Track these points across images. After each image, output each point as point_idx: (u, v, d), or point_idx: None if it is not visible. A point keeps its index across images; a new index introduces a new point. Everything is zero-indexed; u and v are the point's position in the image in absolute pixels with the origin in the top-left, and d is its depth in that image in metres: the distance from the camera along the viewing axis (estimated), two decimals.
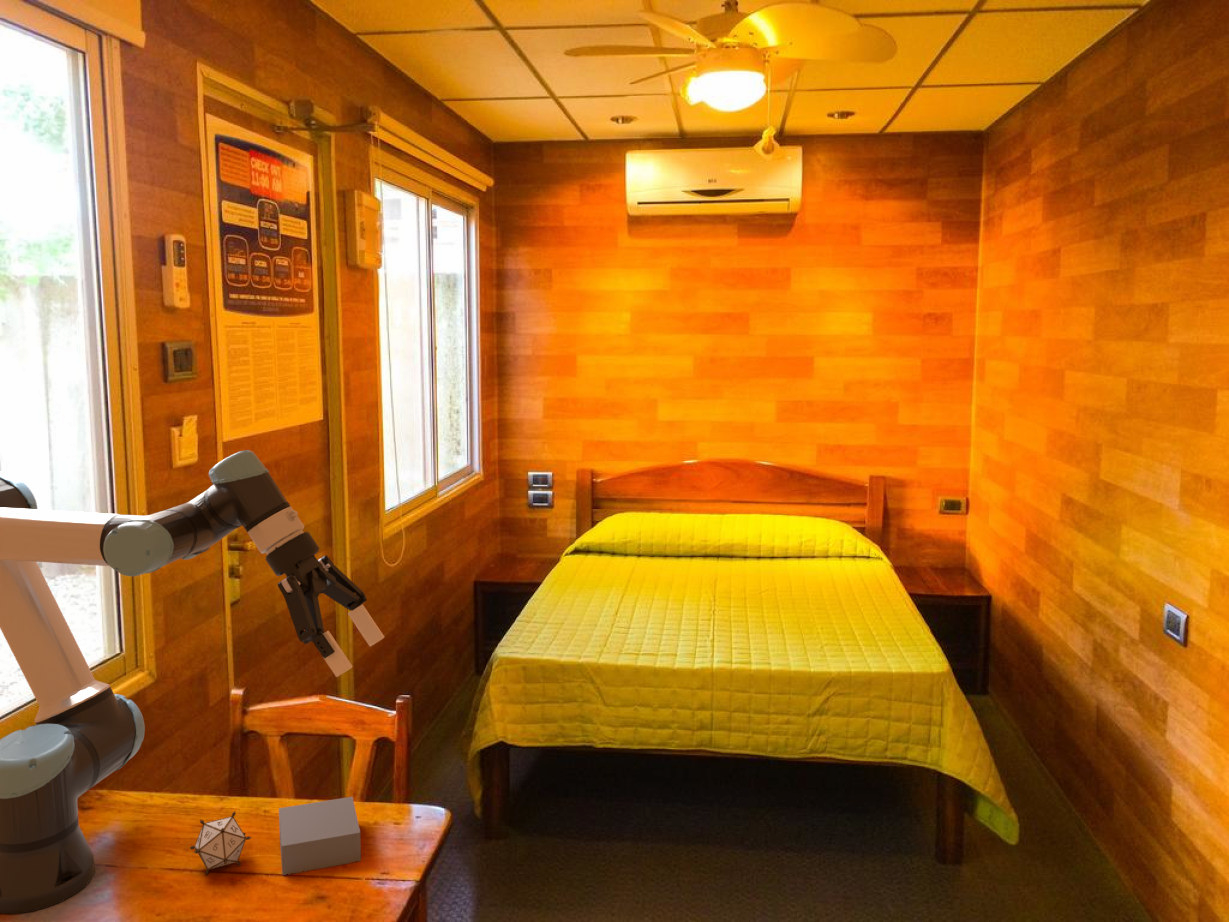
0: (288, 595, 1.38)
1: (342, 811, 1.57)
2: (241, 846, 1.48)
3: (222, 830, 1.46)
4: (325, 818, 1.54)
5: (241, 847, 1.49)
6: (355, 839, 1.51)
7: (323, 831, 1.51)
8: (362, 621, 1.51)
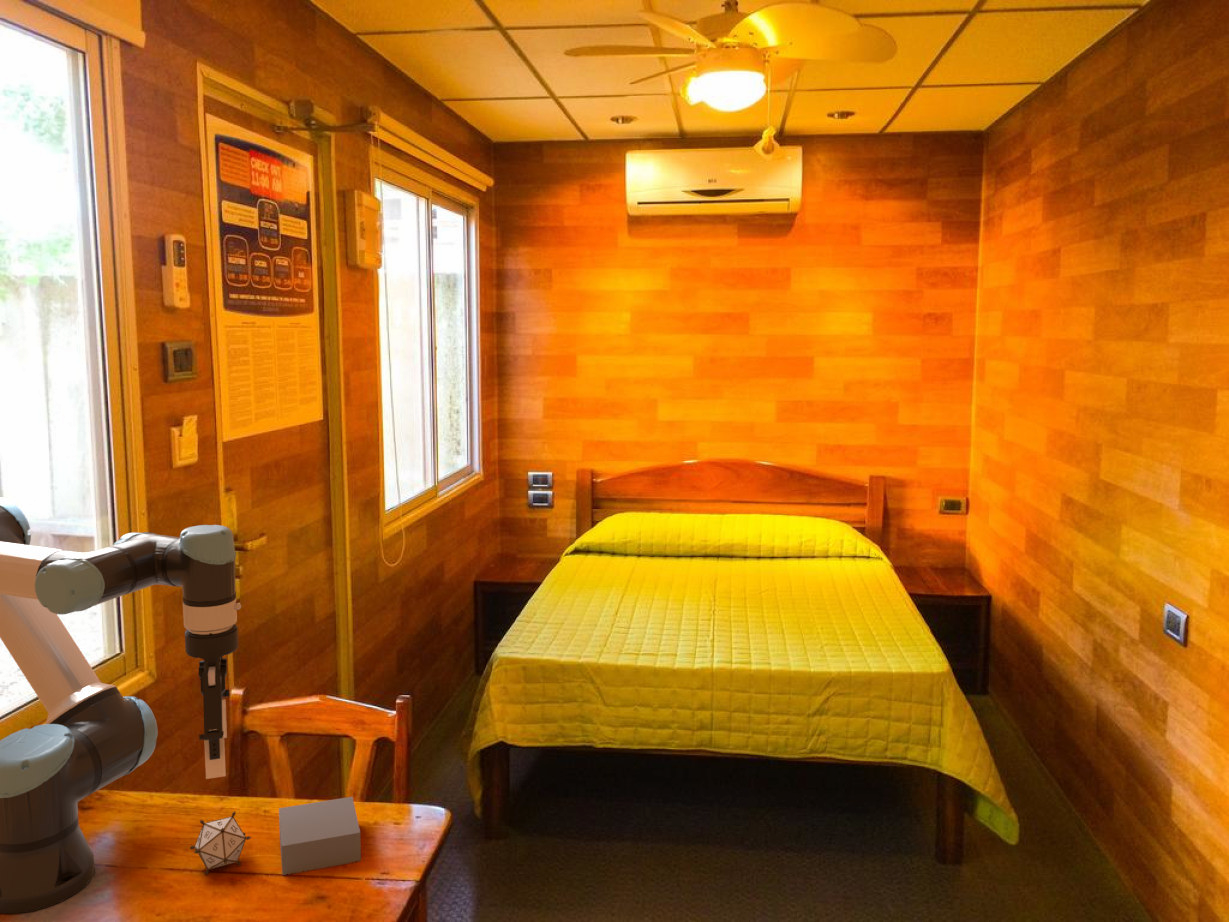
0: (208, 688, 1.38)
1: (342, 811, 1.57)
2: (241, 846, 1.48)
3: (222, 830, 1.46)
4: (325, 818, 1.54)
5: (241, 847, 1.49)
6: (355, 839, 1.51)
7: (323, 831, 1.51)
8: None
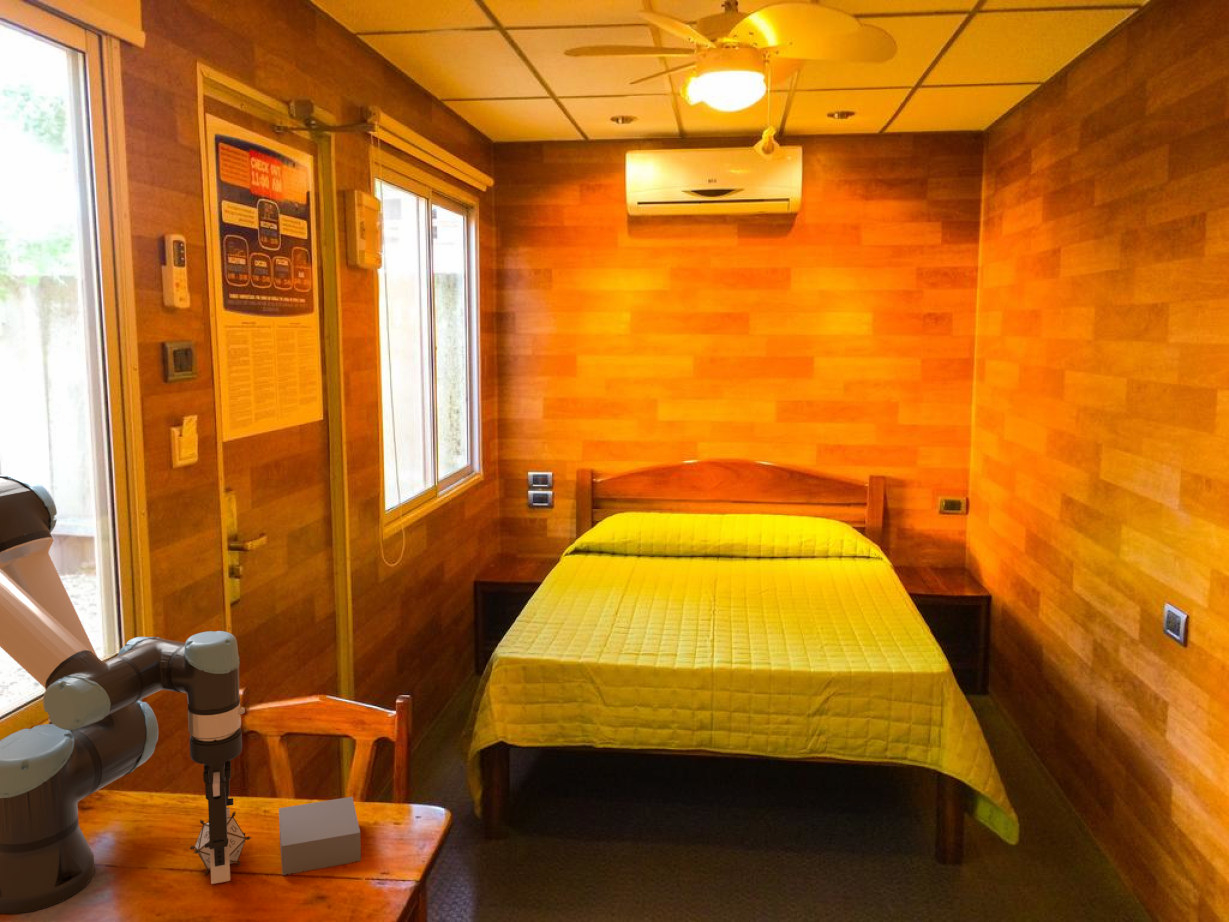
0: (213, 800, 1.41)
1: (342, 811, 1.57)
2: (241, 846, 1.48)
3: None
4: (325, 818, 1.54)
5: (241, 847, 1.48)
6: (355, 839, 1.51)
7: (323, 831, 1.51)
8: None
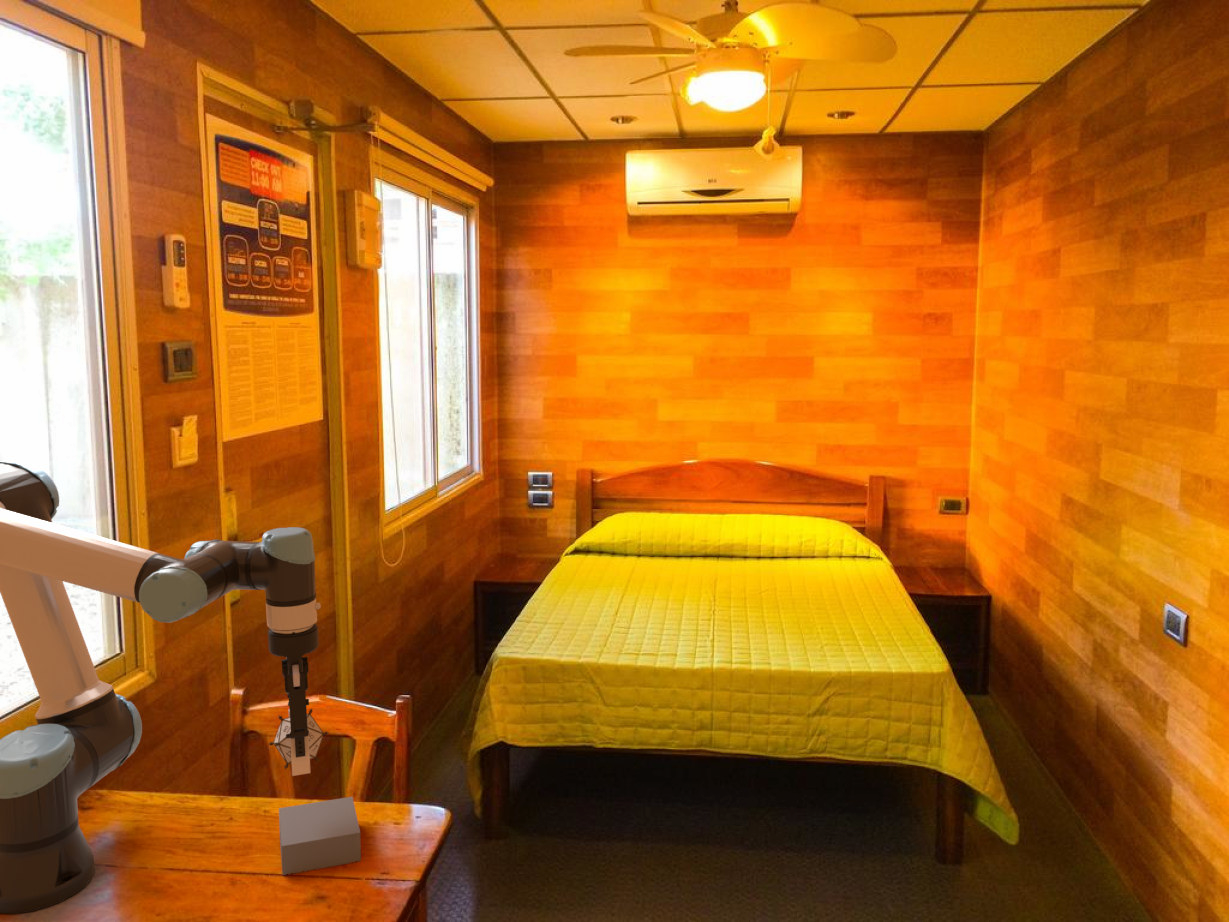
0: (293, 690, 1.42)
1: (342, 811, 1.57)
2: (319, 741, 1.50)
3: None
4: (325, 818, 1.54)
5: (319, 742, 1.50)
6: (355, 839, 1.51)
7: (323, 831, 1.51)
8: None
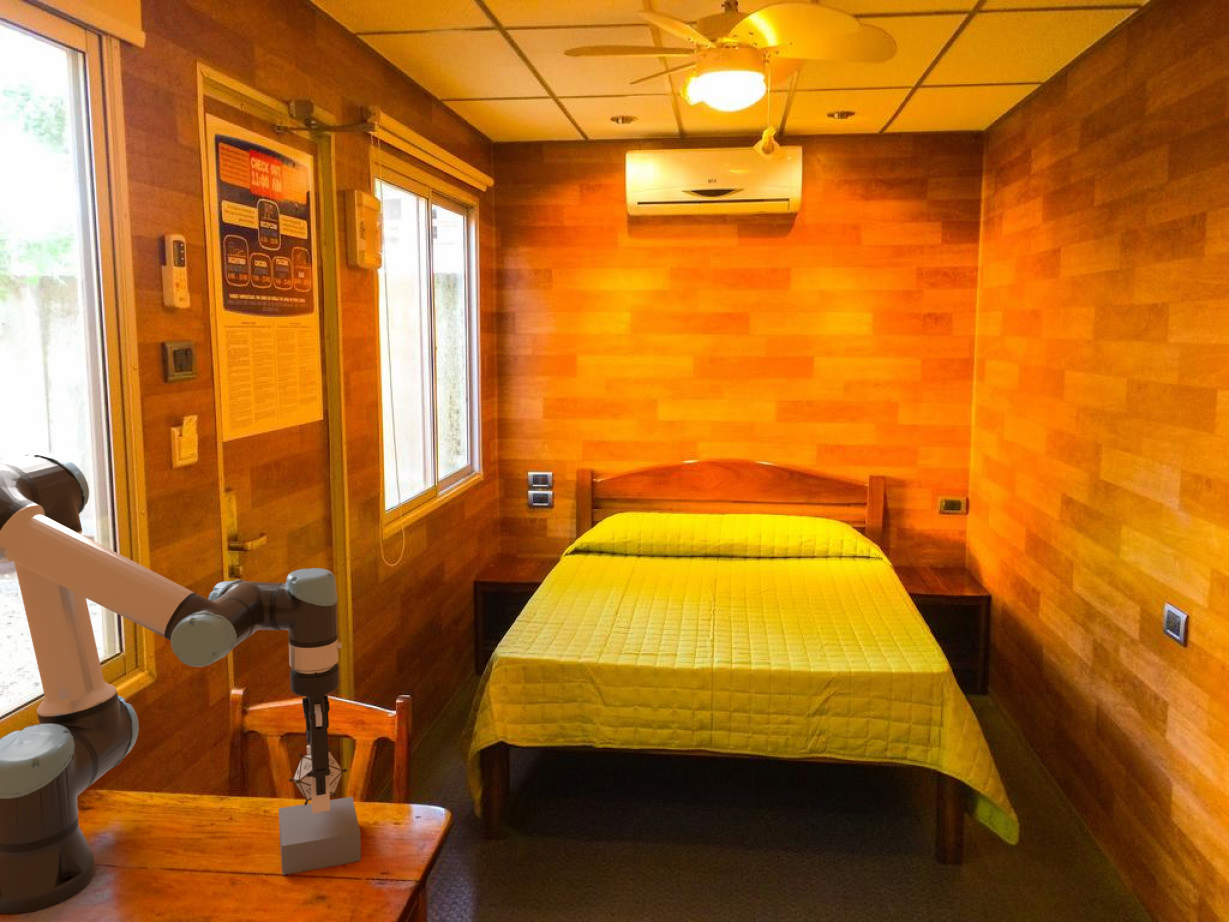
0: (316, 730, 1.45)
1: (342, 811, 1.57)
2: (338, 778, 1.52)
3: None
4: (325, 818, 1.54)
5: (338, 779, 1.52)
6: (355, 839, 1.51)
7: (323, 831, 1.51)
8: None
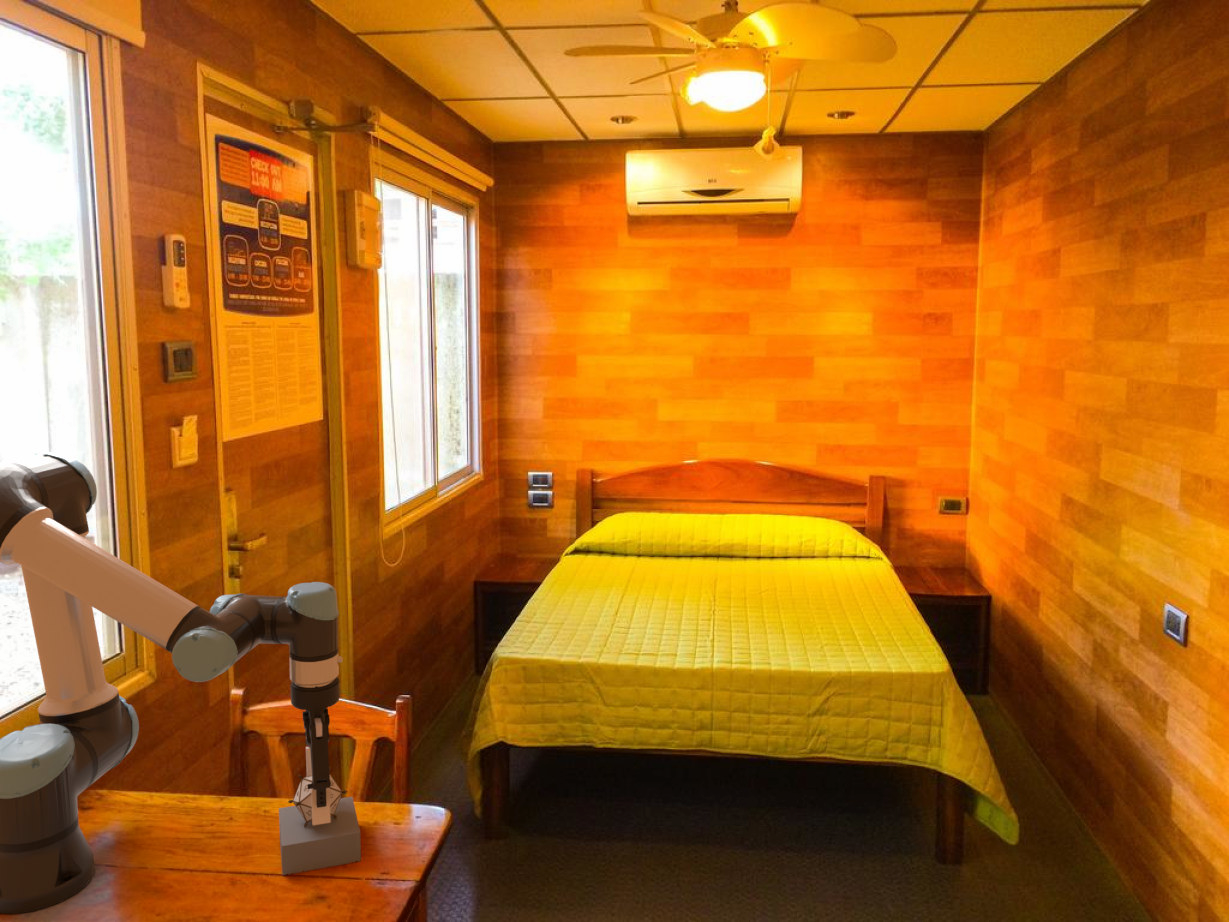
0: (316, 740, 1.45)
1: (342, 811, 1.57)
2: (338, 800, 1.53)
3: None
4: None
5: (338, 801, 1.54)
6: (355, 839, 1.51)
7: (323, 831, 1.51)
8: None
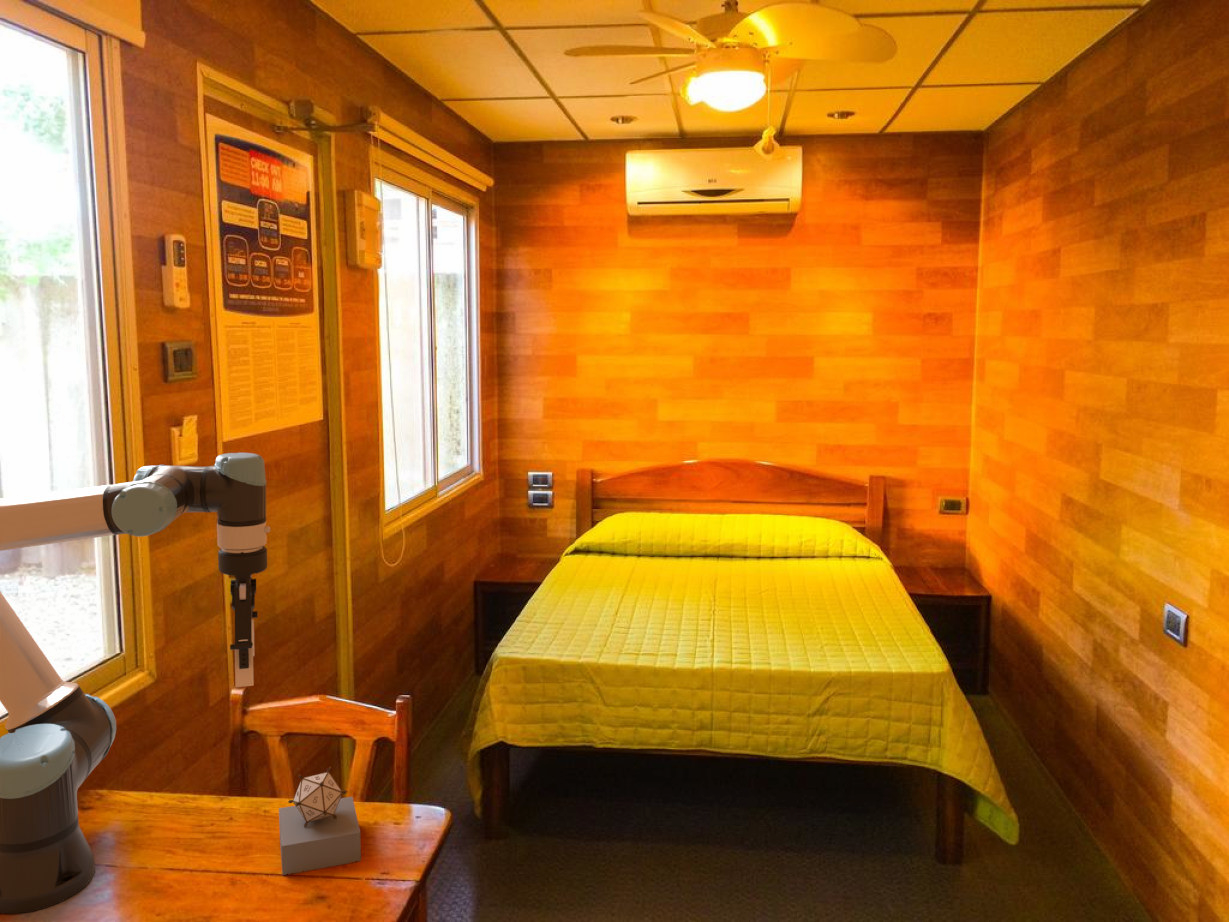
0: (239, 602, 1.48)
1: (342, 811, 1.57)
2: (338, 800, 1.53)
3: (321, 783, 1.51)
4: (325, 818, 1.54)
5: (338, 801, 1.54)
6: (355, 839, 1.51)
7: (323, 831, 1.51)
8: None
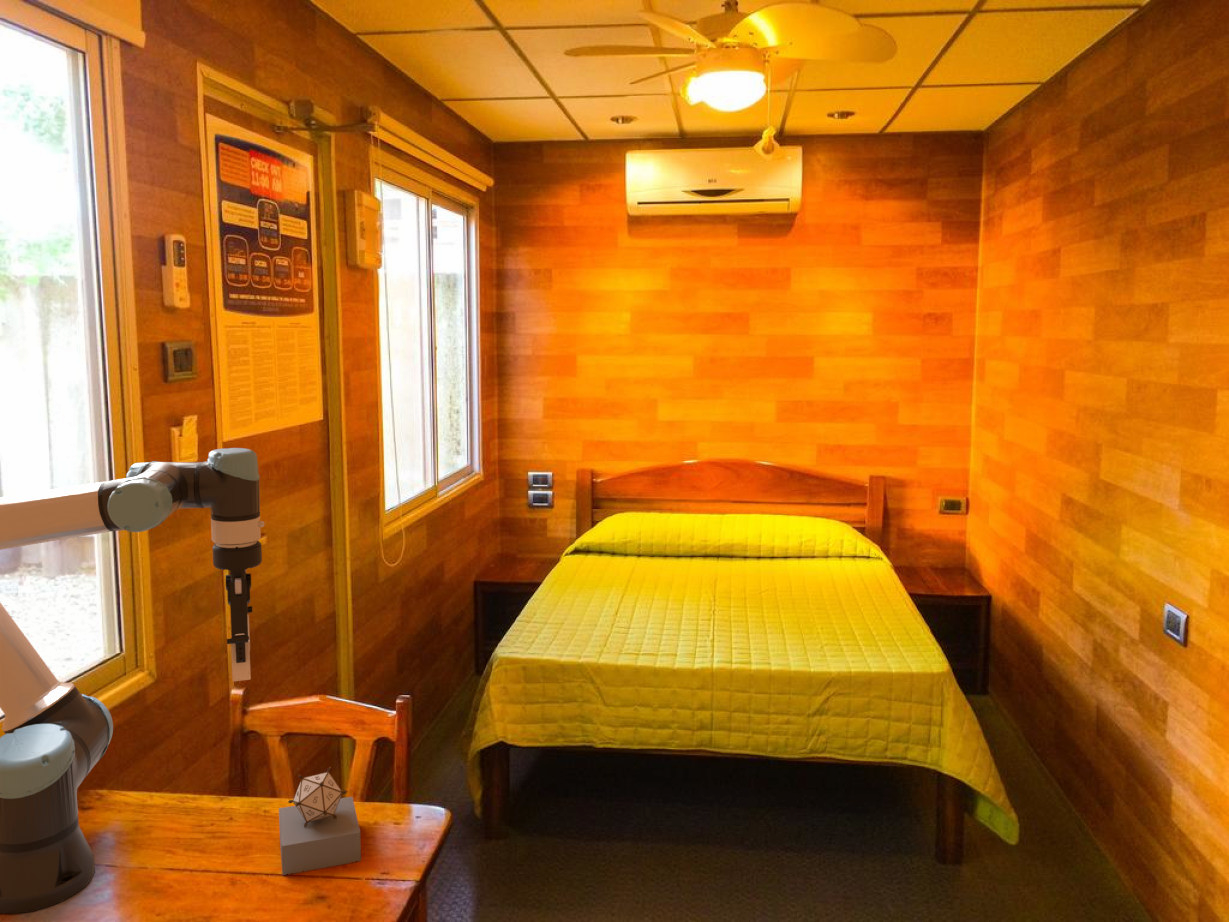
0: (235, 596, 1.48)
1: (342, 811, 1.57)
2: (338, 800, 1.53)
3: (321, 783, 1.51)
4: (325, 818, 1.54)
5: (338, 801, 1.54)
6: (355, 839, 1.51)
7: (323, 831, 1.51)
8: None
